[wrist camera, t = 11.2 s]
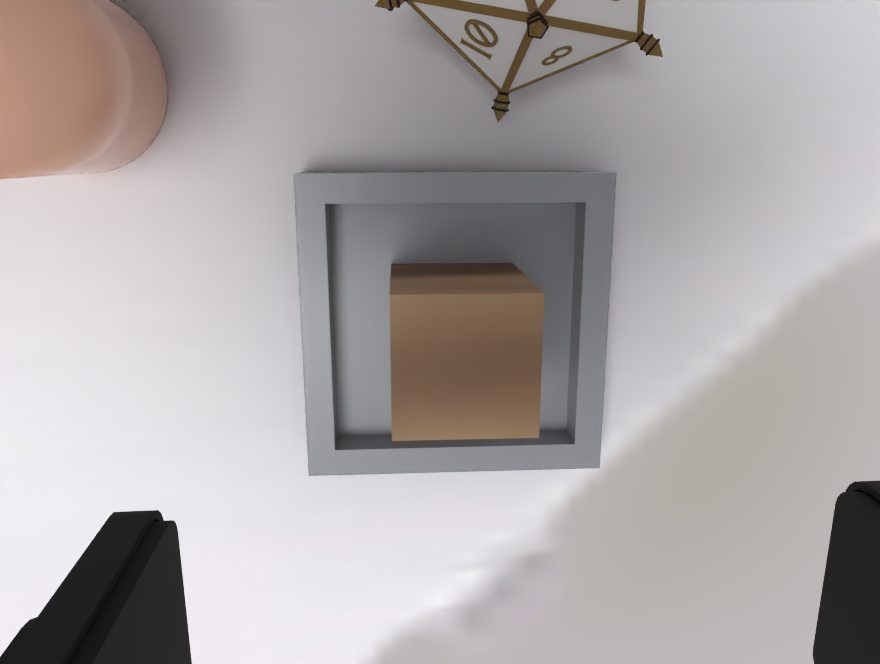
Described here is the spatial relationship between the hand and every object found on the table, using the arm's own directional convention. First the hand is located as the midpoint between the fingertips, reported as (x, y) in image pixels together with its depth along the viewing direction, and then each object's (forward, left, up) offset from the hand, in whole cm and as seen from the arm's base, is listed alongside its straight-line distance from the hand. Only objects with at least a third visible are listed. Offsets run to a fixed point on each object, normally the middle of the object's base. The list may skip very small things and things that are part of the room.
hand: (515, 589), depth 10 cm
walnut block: (0, 0, -18) cm, 18 cm away
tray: (0, 0, -18) cm, 18 cm away
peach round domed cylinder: (-8, -13, -18) cm, 24 cm away
